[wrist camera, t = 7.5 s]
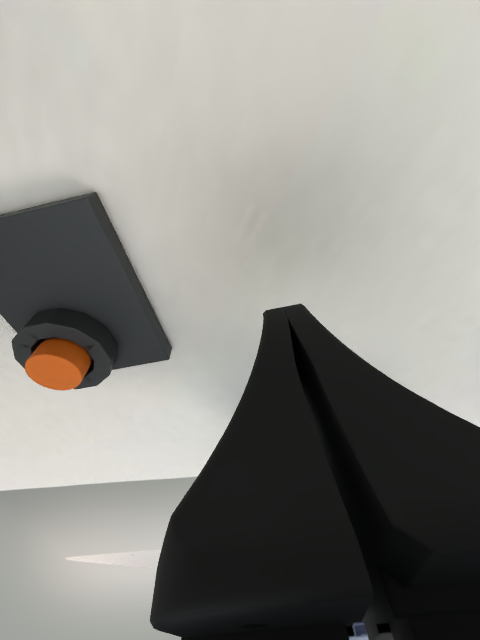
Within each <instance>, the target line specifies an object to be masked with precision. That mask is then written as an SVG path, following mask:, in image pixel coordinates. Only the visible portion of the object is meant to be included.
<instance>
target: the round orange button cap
mask: <svg viewBox="0 0 480 640" xmlns="http://www.w3.org/2000/svg"><path fill="white" fill-rule="evenodd" d="M90 365H91V358H90V355H89V353H88V352H87V351H86V350H85V349H84V348H83V347H81V346H80V345H78V344H76V343H74V342H73V341H71V340H66V339H61V338H51V339H47V340H45V341H43V342H42V343H41V344H40V345H39V346H38V347H37V348H36V350H35V351H34V352H33V353H32V354H31V356H30V357H29V358H28V359H27V361H26V363H25V371H26V373H27V374H28V376H29V377H30V378H31V379H32V380H33V381H35V382H36V383H38V384H40V385H42V386H44V387H47V388H50V389H54V390H70V389H73V388H75V387H77V386H78V385H79V384H80V383H81V382H82V380H83V378H84V376H85V374H86V372H87V371H88V369H89V367H90Z"/></svg>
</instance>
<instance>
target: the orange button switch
mask: <svg viewBox="0 0 480 640" xmlns="http://www.w3.org/2000/svg"><path fill="white" fill-rule="evenodd" d="M0 314H1V315H2V316H3V318H4V319H5V320H6V321H7V322H8V323H9V324H10V325H11V326H12V327H13V329H14V330H15V331H16V332H17V333H18V334H17V335H16V336H15V337H14V338H13V339H12V347H13V352H14V356H15V359H16V360H17V361H18V362H19V363H20V364H21V365H22V366H23V367H24V368H25V363H26V361H27V359H28V358H29V357H30V356H31V354H32V353H33V352H34V351H35V350H36V348H37V347H38V346H39V345H40V344H41V343H42V342H43V341H45V340H47V339H51V338H61V339H66V340H71V341H73V342H74V343H76V344H78V345H80V346H81V347H83V348H84V349H85V350H86V351H87V352H88V353H89V355H90V358H91V365H90V367H89V369H88V371H87V372H86V374H85V376H84V378H83V380H82V382H81V383H80V384H79V385H78V386H77V387H75V388H73V389H81V388H87V387H92V386H97V385H98V384H100V383H101V382H102V381H103V380H104V379H106V378H107V377H108V376H109V375H110V373H111V371H112V370H114V369H119V368H125V367H130V366H136V365H142V364H147V363H153V362H158V361H164V360H169V358H170V354H171V349H172V348H171V346H170V344H169V342H168V340H167V338H166V336H165V334H164V332H163V330H162V327H161V325H160V323H159V321H158V319H157V317H156V315H155V313H154V311H153V309H152V307H151V305H150V303H149V301H148V299H147V297H146V294H145V292H144V290H143V288H142V286H141V284H140V282H139V280H138V278H137V276H136V274H135V272H134V270H133V268H132V266H131V264H130V261H129V259H128V257H127V255H126V253H125V251H124V249H123V247H122V245H121V243H120V241H119V239H118V237H117V235H116V233H115V230H114V228H113V226H112V224H111V222H110V220H109V218H108V216H107V214H106V212H105V210H104V208H103V206H102V204H101V202H100V200H99V197H98V195H97V193H95V192H94V193H90V194H85V195H81V196H77V197H73V198H69V199H65V200H61V201H56V202H52V203H48V204H44V205H40V206H36V207H32V208H27V209H23V210H19V211H15V212H11V213H7V214H3V215H0Z"/></svg>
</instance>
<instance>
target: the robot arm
mask: <svg viewBox="0 0 480 640" xmlns="http://www.w3.org/2000/svg"><path fill="white" fill-rule="evenodd" d="M263 317H264V320H263V330H262V336H261V341H260V345H259V349H258V353H257V357H256V360H255V363H254V366H253V369H252V372H251V375H250V378H249V381H248V383H247V386H246V388H245V391H244V393H243V395H242V398H241V400H240V402H239V404H238V406H237V409H236V411H235V413H234V415H233V417H232V419H231V421H230V423H229V425H228V427H227V429H226V430H225V432H224V434H223V436H222V438H221V439H220V441H219V443H218V444H217V446H216V448H215V449H214V451H213V453H212V455H211V456H210V458H209V460H208V461H207V463H206V465H205V466H204V468H203V469H202V471H201V473H200V474H199V476H198V477H197V479H196V480H195V482H194V483H193V485H192V486H191V487H190V489H189V490H188V492H187V493H186V495H185V496H184V498H183V499H182V501H181V502H180V504H179V505H178V507H177V508H176V509H175V511H174V512H173V514H172V516H171V518H170V521H169V524H168V528H167V531H166V535H165V538H164V542H163V546H162V550H161V554H160V558H159V562H158V567H157V573H156V580H155V587H154V594H153V603H152V609H151V616H150V622H151V624H152V626H153V628H154V629H157V630H159V631H162V632H166V633H170V634H173V635H176V636H180V637H182V638H181V640H480V427H478V426H476V425H474V424H472V423H470V422H468V421H466V420H464V419H462V418H460V417H458V416H456V415H454V414H452V413H450V412H448V411H446V410H444V409H442V408H441V407H439V406H437V405H435V404H433V403H432V402H430V401H428V400H426V399H424V398H423V397H421V396H419V395H417V394H415V393H414V392H412V391H410V390H408V389H407V388H405V387H403V386H402V385H400V384H399V383H397V382H395V381H394V380H392V379H391V378H389V377H388V376H386V375H385V374H383V373H382V372H380V371H379V370H377V369H376V368H374V367H373V366H371V365H370V364H369V363H367V362H366V361H365V360H363V359H362V358H361V357H359V356H358V355H357V354H355V353H354V352H353V351H352V350H350V349H349V348H348V347H347V346H345V345H344V344H343V343H342V342H341V341H340V340H338V339H337V338H336V337H335V336H334V335H333V334H332V333H330V332H329V331H328V330H327V329H326V328H325V327H324V326H323V325H322V324H321V323H320V322H319V321H318V320H317V319H316V318H315V317H314V316H313V315H312V314H311V313H310V312H309V311H308V310H307V309H306V307H305V306H304V305H302V304H297V305H292V306H286V307H281V308H276V309H271V310H266V311H265V312H264V313H263Z"/></svg>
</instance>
